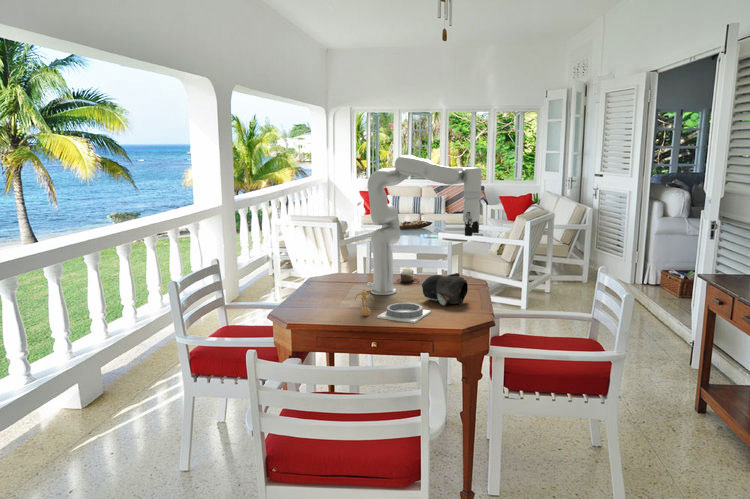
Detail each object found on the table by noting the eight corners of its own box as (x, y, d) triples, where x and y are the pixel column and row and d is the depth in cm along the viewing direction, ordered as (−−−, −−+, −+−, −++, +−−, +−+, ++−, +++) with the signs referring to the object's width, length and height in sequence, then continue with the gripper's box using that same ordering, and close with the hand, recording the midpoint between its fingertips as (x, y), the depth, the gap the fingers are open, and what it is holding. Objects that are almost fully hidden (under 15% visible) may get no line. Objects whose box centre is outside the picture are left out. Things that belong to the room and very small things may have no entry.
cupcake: (398, 276, 310) (411, 263, 306) (412, 290, 308) (424, 276, 304) (391, 280, 298) (404, 266, 295) (405, 294, 297) (418, 281, 293)
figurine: (375, 314, 241) (375, 287, 239) (373, 319, 236) (373, 290, 234) (356, 314, 243) (356, 286, 241) (353, 318, 237) (353, 290, 235)
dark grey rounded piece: (459, 319, 251) (457, 296, 244) (415, 311, 260) (411, 289, 252) (472, 291, 265) (470, 268, 258) (429, 285, 274) (426, 262, 267)
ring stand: (377, 317, 237) (377, 310, 236) (395, 307, 252) (395, 300, 251) (414, 323, 229) (414, 315, 229) (431, 312, 244) (431, 304, 243)
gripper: (470, 194, 259) (469, 231, 262) (457, 197, 244) (457, 236, 247) (486, 194, 256) (485, 232, 259) (474, 197, 241) (474, 237, 244)
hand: (471, 234), depth 253 cm, fingers open, 9 cm apart
